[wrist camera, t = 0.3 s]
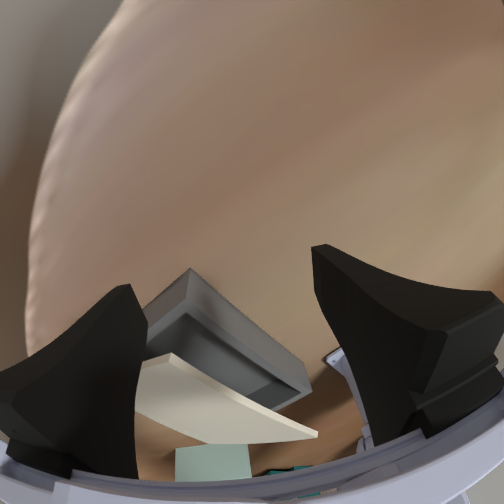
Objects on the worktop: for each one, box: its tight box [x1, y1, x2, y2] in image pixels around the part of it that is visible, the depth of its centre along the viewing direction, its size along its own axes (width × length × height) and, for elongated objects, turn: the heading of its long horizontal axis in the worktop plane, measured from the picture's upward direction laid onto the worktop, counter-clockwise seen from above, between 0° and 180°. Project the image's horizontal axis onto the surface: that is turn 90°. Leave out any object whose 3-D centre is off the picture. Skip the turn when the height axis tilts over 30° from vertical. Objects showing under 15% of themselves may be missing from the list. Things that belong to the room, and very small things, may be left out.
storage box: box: [142, 268, 313, 412], centre depth 25 cm, size 16×14×4 cm
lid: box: [135, 352, 318, 444], centre depth 21 cm, size 16×14×1 cm
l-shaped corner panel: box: [175, 444, 252, 482], centre depth 36 cm, size 12×12×8 cm
